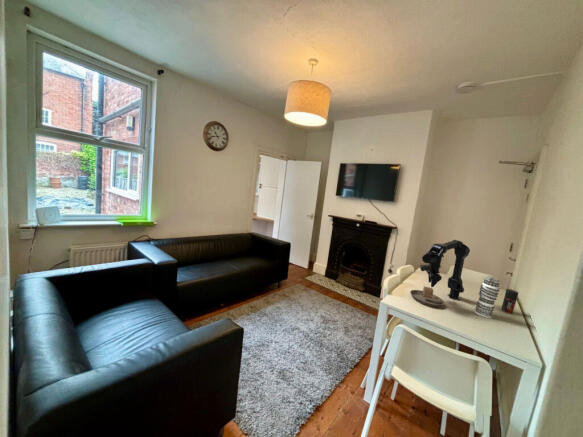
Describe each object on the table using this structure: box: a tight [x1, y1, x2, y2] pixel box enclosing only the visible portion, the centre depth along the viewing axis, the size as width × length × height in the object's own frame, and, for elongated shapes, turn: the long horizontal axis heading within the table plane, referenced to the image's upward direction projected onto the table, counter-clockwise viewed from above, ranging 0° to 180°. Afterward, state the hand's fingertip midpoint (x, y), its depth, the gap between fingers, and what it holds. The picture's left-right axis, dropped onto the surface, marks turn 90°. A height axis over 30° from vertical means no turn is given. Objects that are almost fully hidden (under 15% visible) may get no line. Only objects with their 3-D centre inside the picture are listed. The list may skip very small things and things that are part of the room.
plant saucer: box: [409, 289, 445, 308], centre depth 157 cm, size 21×21×3 cm
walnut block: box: [422, 286, 434, 299], centre depth 157 cm, size 5×5×6 cm
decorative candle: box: [474, 275, 501, 319], centre depth 146 cm, size 9×9×25 cm
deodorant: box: [500, 288, 519, 315], centre depth 155 cm, size 6×6×15 cm
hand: (430, 284), depth 155 cm, fingers open, 9 cm apart
